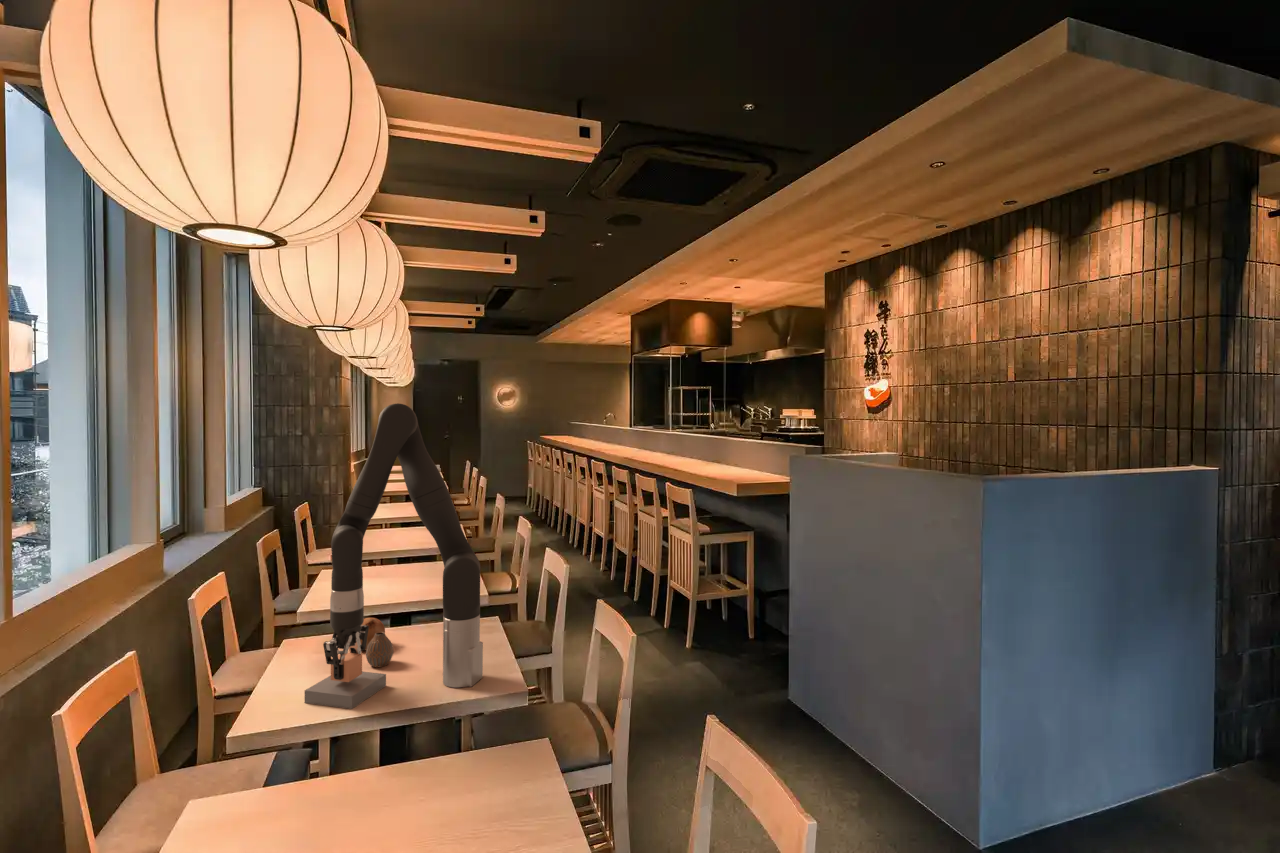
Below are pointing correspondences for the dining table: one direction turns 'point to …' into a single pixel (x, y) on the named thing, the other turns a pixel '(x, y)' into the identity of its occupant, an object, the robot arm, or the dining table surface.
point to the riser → (345, 690)
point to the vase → (379, 650)
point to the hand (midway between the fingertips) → (346, 674)
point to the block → (350, 667)
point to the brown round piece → (372, 628)
